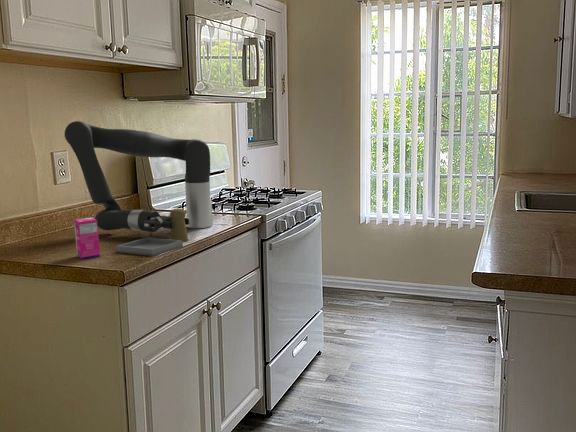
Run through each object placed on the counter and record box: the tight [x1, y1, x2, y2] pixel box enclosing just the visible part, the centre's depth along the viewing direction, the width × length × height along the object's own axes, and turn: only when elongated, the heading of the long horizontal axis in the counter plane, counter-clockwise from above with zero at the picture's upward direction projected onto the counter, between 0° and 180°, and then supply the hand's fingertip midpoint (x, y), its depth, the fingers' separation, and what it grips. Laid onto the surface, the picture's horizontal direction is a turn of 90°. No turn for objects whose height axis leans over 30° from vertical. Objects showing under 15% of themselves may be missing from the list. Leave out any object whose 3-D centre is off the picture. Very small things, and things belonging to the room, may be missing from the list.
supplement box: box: [73, 217, 101, 260], centre depth 181 cm, size 6×6×12 cm
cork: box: [169, 208, 189, 243], centre depth 201 cm, size 6×6×11 cm
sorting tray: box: [115, 237, 184, 257], centre depth 189 cm, size 15×15×2 cm
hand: (180, 223), depth 201 cm, fingers open, 8 cm apart
